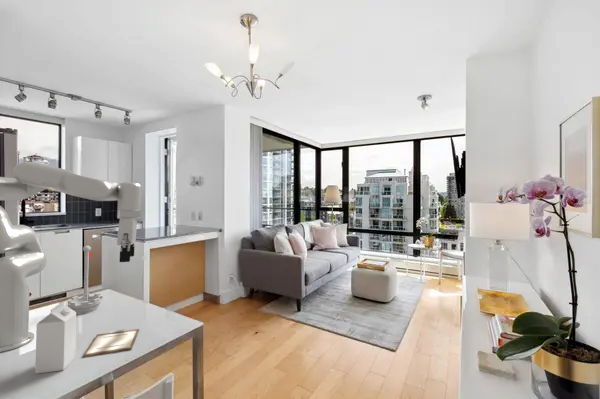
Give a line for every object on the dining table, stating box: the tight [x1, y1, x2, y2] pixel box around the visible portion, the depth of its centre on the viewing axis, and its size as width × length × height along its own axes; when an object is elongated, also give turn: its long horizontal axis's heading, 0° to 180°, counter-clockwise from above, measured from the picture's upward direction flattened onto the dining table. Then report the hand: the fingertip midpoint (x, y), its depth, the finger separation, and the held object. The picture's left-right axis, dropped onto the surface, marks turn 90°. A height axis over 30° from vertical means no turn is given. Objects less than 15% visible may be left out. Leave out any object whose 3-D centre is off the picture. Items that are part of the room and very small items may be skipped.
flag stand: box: [67, 245, 104, 315], centre depth 129 cm, size 13×13×30 cm
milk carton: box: [34, 300, 77, 374], centre depth 86 cm, size 7×7×19 cm
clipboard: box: [82, 328, 140, 358], centre depth 100 cm, size 14×15×1 cm
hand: (127, 259), depth 105 cm, fingers open, 9 cm apart
